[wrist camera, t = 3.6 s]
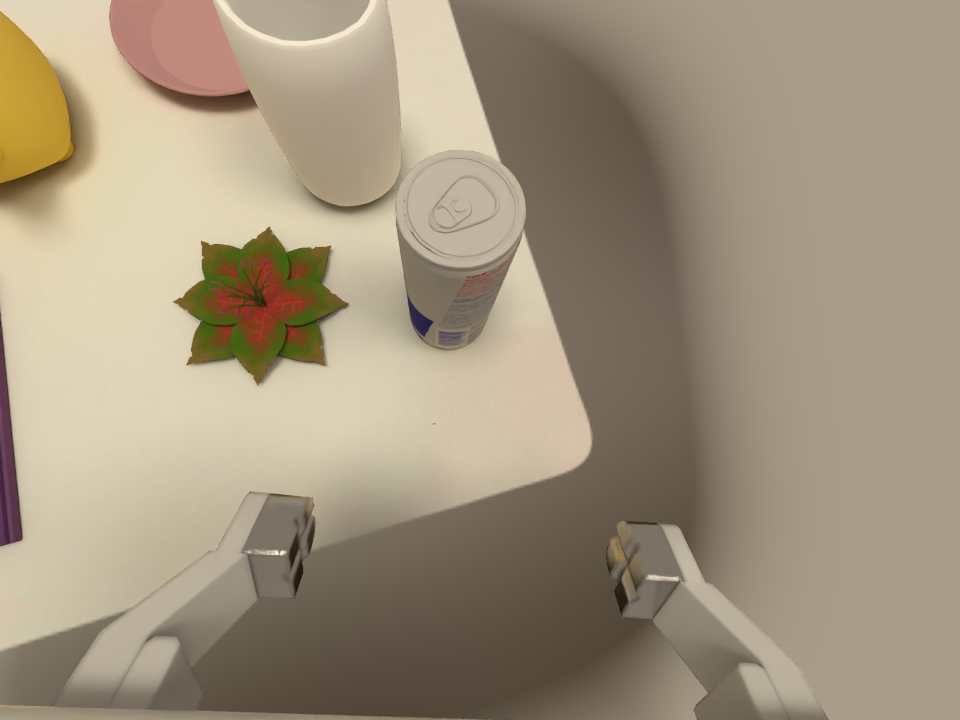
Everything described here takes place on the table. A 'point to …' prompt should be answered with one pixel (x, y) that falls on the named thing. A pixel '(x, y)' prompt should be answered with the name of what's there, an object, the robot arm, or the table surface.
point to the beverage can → (456, 242)
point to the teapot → (29, 107)
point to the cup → (324, 89)
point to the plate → (177, 45)
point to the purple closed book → (7, 467)
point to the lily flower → (259, 303)
